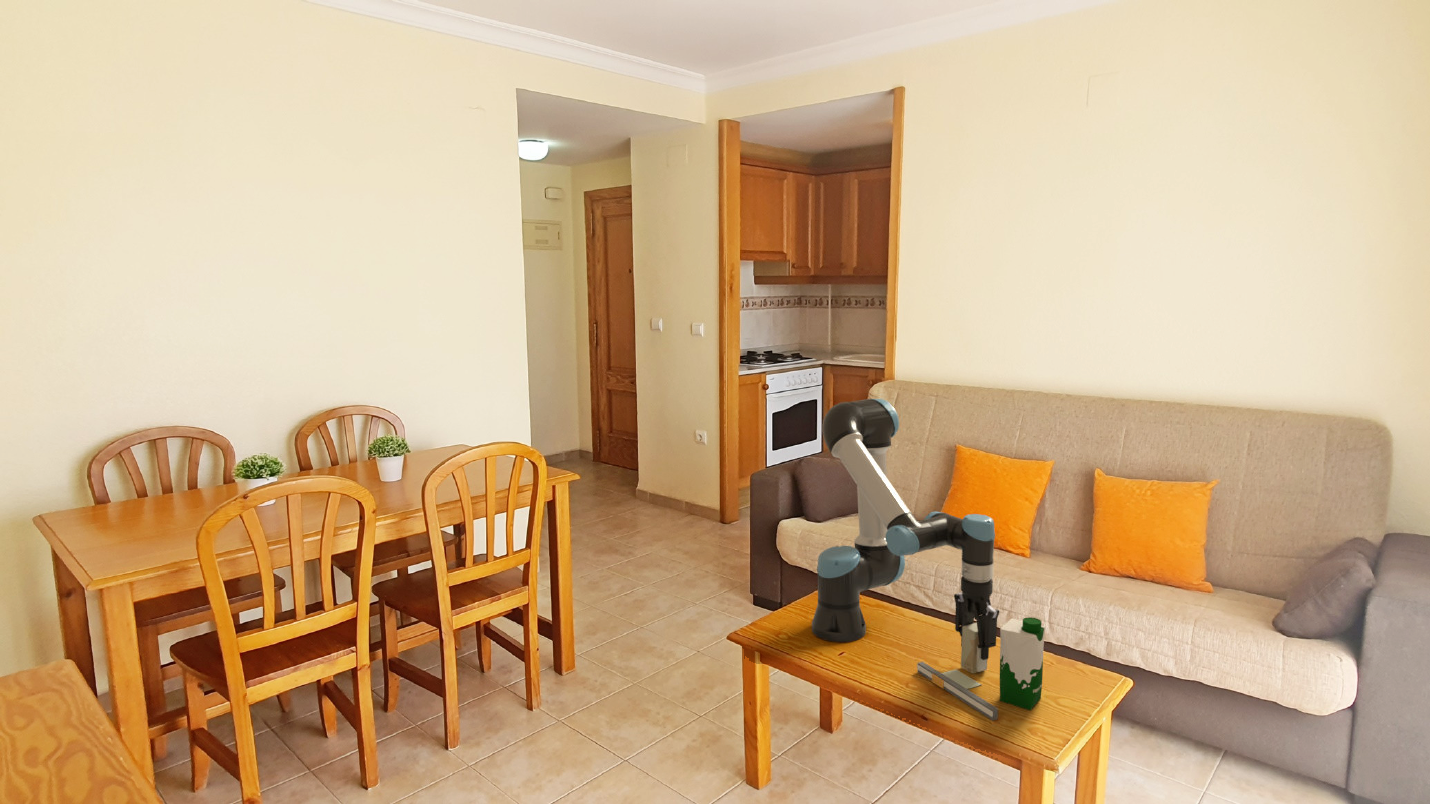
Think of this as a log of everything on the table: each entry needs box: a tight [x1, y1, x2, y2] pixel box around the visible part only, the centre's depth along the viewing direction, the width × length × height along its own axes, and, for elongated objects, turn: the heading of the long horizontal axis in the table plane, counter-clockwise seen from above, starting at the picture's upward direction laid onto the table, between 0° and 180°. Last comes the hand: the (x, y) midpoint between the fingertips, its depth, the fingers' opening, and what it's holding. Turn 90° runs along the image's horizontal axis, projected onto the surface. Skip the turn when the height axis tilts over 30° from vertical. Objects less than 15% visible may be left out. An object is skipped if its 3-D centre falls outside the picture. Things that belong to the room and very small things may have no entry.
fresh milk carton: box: [999, 616, 1046, 711], centre depth 190 cm, size 9×9×20 cm
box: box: [960, 622, 985, 674], centre depth 205 cm, size 5×4×11 cm
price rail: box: [916, 661, 999, 721], centre depth 194 cm, size 26×2×2 cm, turn 25°
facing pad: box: [941, 669, 982, 690], centre depth 201 cm, size 9×7×1 cm
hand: (974, 665), depth 206 cm, fingers closed on box, 4 cm apart
